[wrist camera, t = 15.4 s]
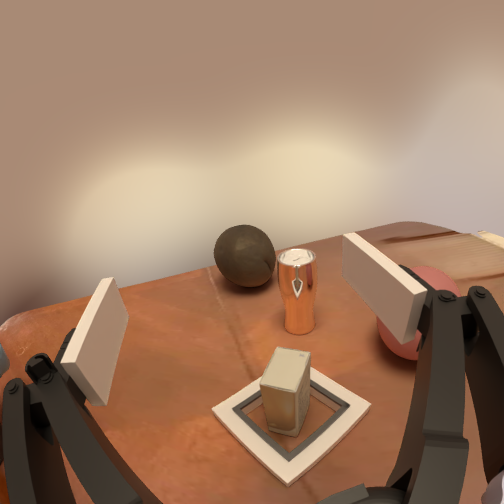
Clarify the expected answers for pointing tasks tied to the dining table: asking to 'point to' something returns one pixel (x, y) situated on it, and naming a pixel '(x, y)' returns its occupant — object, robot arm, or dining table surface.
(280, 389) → the skincare box
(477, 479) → the dining table surface
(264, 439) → the socket block
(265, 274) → the dark brown ball
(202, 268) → the dining table surface
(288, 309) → the beer glass
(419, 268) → the balloon
